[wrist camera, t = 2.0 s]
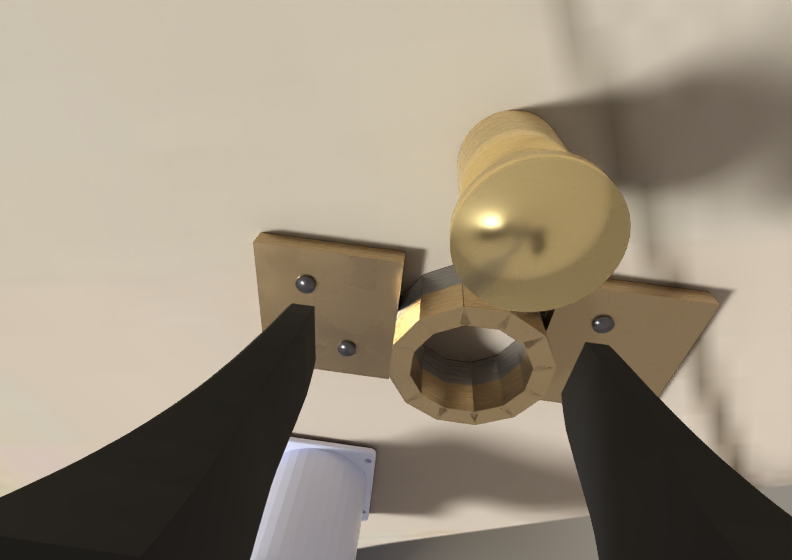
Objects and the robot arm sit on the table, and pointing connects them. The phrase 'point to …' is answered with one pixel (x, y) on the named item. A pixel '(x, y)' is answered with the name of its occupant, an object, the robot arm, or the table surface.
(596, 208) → the hinge pin
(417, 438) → the table surface
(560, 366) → the hinge
